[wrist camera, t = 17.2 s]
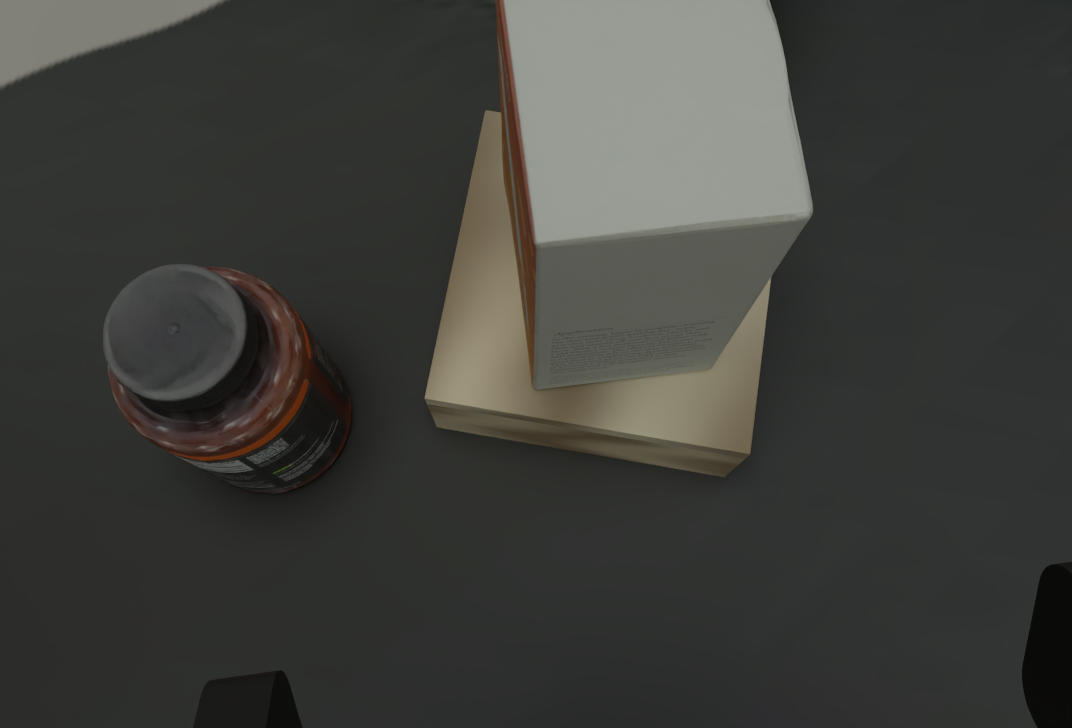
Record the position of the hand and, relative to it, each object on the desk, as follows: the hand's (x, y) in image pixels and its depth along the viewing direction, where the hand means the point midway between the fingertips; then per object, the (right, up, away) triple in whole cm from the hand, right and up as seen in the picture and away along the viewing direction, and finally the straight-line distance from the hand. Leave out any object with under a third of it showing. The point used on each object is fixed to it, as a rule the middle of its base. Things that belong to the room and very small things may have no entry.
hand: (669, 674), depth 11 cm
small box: (+1, +6, +25) cm, 25 cm away
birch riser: (+1, +5, +29) cm, 30 cm away
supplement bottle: (-11, +1, +28) cm, 30 cm away
